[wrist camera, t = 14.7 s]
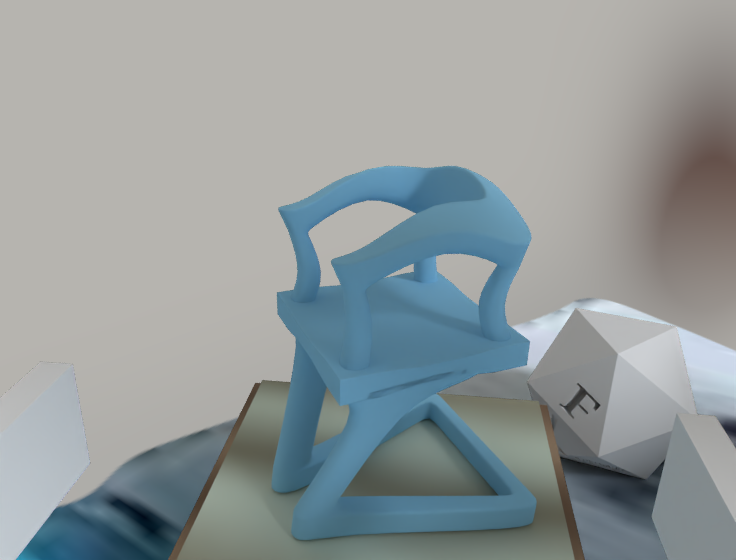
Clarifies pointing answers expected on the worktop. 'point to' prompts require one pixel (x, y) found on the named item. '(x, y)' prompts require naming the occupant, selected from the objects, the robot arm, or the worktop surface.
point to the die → (613, 390)
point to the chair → (398, 349)
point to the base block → (383, 487)
